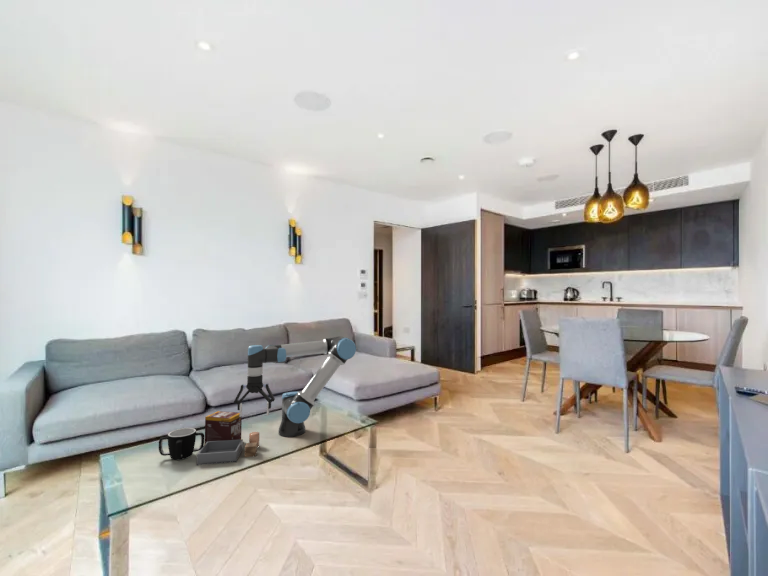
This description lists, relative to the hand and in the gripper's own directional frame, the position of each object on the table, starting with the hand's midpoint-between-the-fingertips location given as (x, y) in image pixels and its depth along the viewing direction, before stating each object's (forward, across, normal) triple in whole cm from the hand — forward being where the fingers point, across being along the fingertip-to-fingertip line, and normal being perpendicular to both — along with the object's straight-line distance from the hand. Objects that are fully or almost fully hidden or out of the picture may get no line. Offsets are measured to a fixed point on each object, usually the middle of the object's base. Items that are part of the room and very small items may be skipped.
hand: (254, 415), depth 190 cm
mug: (+17, +33, +6) cm, 37 cm away
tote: (+16, +14, +10) cm, 23 cm away
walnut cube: (+16, 0, +10) cm, 19 cm away
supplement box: (+17, +17, -8) cm, 25 cm away
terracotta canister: (+16, 0, 0) cm, 16 cm away
